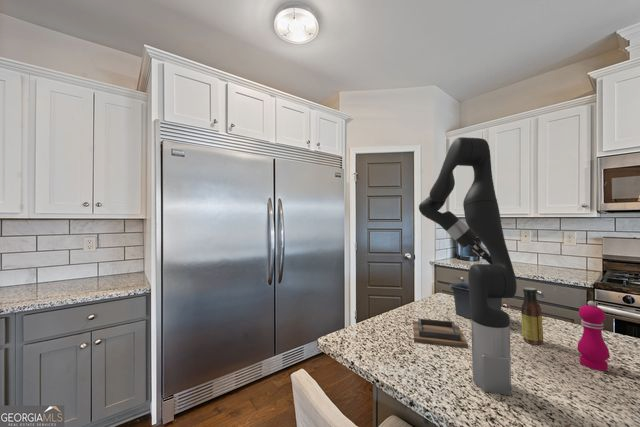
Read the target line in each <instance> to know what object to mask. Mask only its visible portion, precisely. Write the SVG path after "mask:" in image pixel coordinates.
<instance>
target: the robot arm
mask: <svg viewBox="0 0 640 427" xmlns="http://www.w3.org/2000/svg"><path fill="white" fill-rule="evenodd" d="M445 155H446V156H445V159H444V161H443V163H442V166H441V169H440V172H439V174H438V177H437V179H436V180H435V182H434V183H433V186H432V187H431V189H430V191H429V196H428V197H426V198H425V199H424V200H423V201H421V202H420V204H418V210H419V212H420V213H421V215H422V216H423V217H425V218H427V219H428V220H430V221H432V222H433V223H435V224H438V225H439V226H440V227H441V228H442V229H443V230H445V232H446V233H448V235H449V236H450V237H451V238H452V239H453V240H454V241H455V242H456V243H457V244H458V245H460V246H461V247H462V248H466V247H468V246H470V247H471V248H470V249H471V251H473V253H475V254H476V255H477V256H478V257H479V258H480V257H481V259H482V260H485V261H486V262H487V263H488V264H487V263H486V264H485V263H483V264H482V263H478V264H475V263H474V264H472V265H471V266H470V267H469V269H468V273H467V274H468V276H467V279H468V280H467V281H468V283H469V294H470V309H471V325H470V326H471V360H472V361H471V362H472V365H471V366H472V367H471V369H472V382H473V383H474V384H475V385H476V386H477V387H479V388H480V389H481V390H482V392H485V393H493V394H499V395H504V396H505V395H506V396H510V395H511V391H512V362H511V361H512V360H511V319H510V315H509V313H507V312H506V311H505V310H503V309H501V310H500V309H498V308H495V307H492V306H490V305H488V301H487V298H502V299H513V298H514V297H515V295H516V293H517V289H518V288H517V279H516V274H515V271H514V266H513V263H512V259H511V256H510V254H509V251H508V247H507V245H506V240H505V236H504V230H503V226H502V220H501V219H502V218H501V214H500V210H499V203H498V198H497V195H496V190H495V185H494V178H493V172H492V160H491V156H492V155H491V150H490V145H489V143H488V141H487V140H486V139H485V138H479V137H464V136H463V137H457V138H455V139H454V140H453V141H452V143H451V144H450V147H449V148H448V150H447V153H446V154H445ZM458 166H461V167H472V170H473V182H472V183H471V186H470V187H469V189H468V190H467V193H466V194H465V197H464V200H463V205H462V206H463V212H464V220H465V222H463V221H462V220H461V219H459V217H457V216H456V215H455V214H454V213H453V212H452V211H450V210H447V211H444V212H440V211H439V210H441V209H442V207H444V205H445V203H446V201H447V199H448V198H449V196H450V195H451V193H452V192H453V190H454V189H455V185H456V184H455V183H456V182H455V181H456V180H455V176H454V170H455V168H457V167H458ZM476 239H478V240H479V241H476ZM483 245H484V246H483Z"/></svg>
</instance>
